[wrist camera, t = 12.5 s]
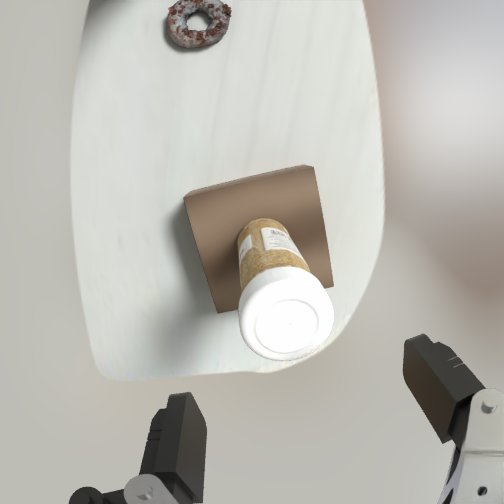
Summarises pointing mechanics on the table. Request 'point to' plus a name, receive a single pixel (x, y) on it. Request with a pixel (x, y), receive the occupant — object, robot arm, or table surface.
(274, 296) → the sprinkles bottle
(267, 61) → the table surface
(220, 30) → the donut
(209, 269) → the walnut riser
